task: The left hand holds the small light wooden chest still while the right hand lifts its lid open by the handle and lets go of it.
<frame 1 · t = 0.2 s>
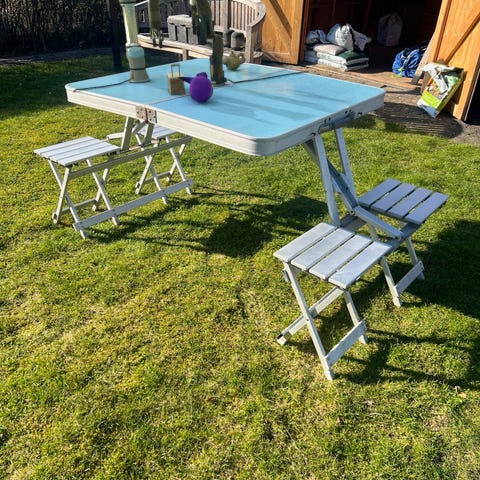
left hand: (196, 35, 349), 28 cm above the table, tool pointing down, fingers open, 13 cm apart
right hand: (157, 47, 284), 29 cm above the table, tool pointing down, fingers open, 8 cm apart
chest: (176, 92, 305), on the table
lid: (174, 68, 297), point 15 cm above the table, hinge at 0.0°
teapot: (233, 70, 372), on the table
toy: (198, 100, 282), on the table
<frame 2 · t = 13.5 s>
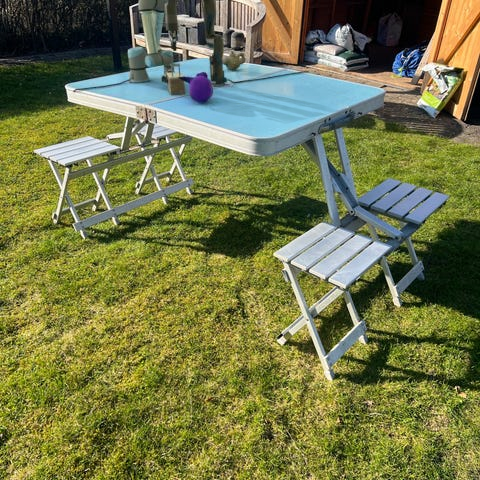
left hand: (174, 81, 305), 6 cm above the table, tool horizontal, fingers closed on chest, 9 cm apart
right hand: (173, 50, 286), 27 cm above the table, tool pointing down, fingers open, 8 cm apart
chest: (176, 92, 305), on the table, touching left hand
everything else where it was.
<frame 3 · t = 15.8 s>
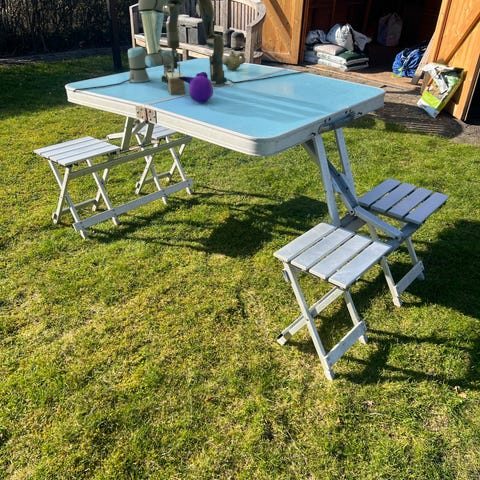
left hand: (174, 81, 305), 6 cm above the table, tool horizontal, fingers closed on chest, 9 cm apart
right hand: (175, 68, 291), 16 cm above the table, tool pointing down, fingers closed on lid, 2 cm apart
chest: (176, 92, 305), on the table, touching left hand
lid: (174, 69, 297), point 15 cm above the table, hinge at -0.1°, touching right hand
everything else where it was.
when the left hand's fingers open (6 cm above the table, at t = 23.1 s): chest stays where it is, on the table.
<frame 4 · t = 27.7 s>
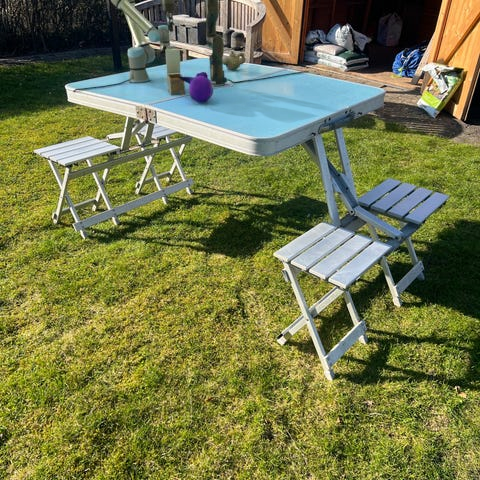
left hand: (170, 54, 309), 21 cm above the table, tool horizontal, fingers open, 13 cm apart
right hand: (170, 31, 288), 38 cm above the table, tool pointing down, fingers open, 8 cm apart
chest: (176, 92, 305), on the table
lid: (172, 58, 302), point 20 cm above the table, hinge at 68.8°
everything else where it was.
at the end: lid at +69° (first picture: +0°); the left hand is holding nothing; the right hand is holding nothing; chest tilted 0°; chest never tilted more than 1° during the clip; chest moved 0.1 cm from its start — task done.
